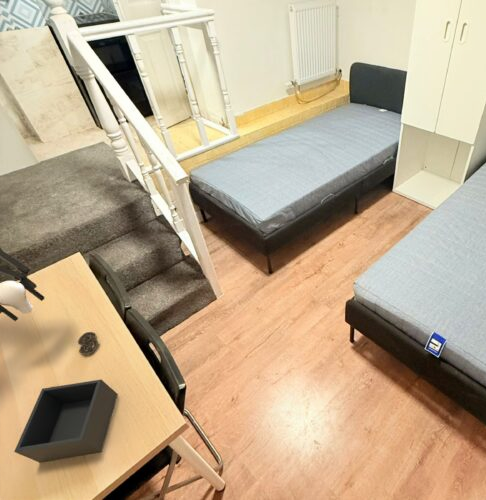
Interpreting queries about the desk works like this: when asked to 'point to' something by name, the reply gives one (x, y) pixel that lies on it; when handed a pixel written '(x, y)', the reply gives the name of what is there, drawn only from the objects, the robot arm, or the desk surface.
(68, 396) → the bin
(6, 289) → the lightbulb
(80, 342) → the corroded twin loop
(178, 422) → the desk surface
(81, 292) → the desk surface
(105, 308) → the desk surface
